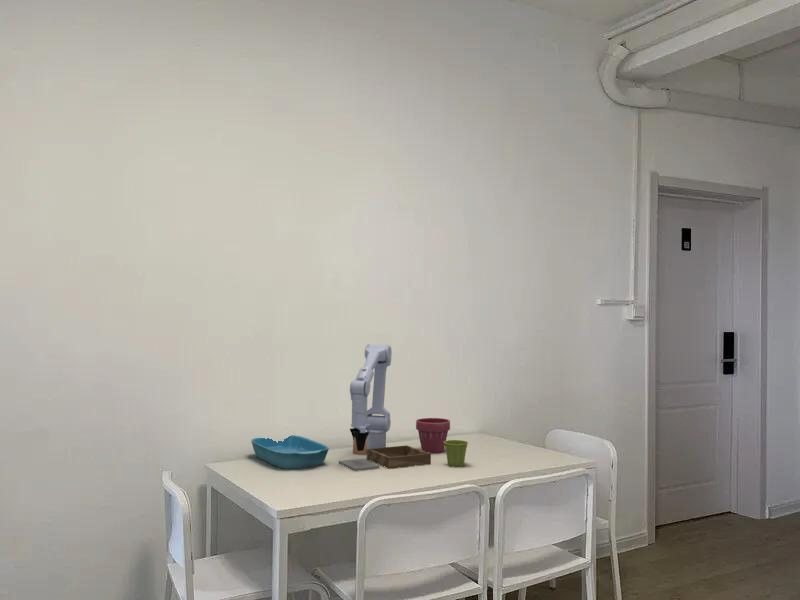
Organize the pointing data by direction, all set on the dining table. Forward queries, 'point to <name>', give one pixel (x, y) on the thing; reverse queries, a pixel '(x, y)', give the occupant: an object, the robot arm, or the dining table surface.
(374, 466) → the slate board
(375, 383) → the robot arm
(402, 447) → the brown wooden tray
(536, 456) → the dining table surface
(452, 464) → the plant pot
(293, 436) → the casserole dish
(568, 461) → the dining table surface
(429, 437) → the plant pot
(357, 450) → the terracotta pot
